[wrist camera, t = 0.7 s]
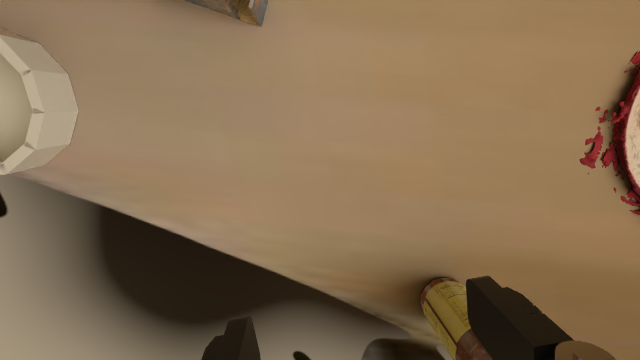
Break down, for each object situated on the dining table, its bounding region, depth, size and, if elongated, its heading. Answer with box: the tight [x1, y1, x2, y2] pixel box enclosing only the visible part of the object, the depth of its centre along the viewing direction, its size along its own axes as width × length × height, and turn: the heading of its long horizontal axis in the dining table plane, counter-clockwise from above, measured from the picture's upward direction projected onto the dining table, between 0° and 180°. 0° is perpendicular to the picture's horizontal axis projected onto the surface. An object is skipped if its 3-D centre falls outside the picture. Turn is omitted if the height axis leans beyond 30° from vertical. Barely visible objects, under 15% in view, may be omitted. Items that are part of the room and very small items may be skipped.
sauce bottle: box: [420, 278, 493, 360], centre depth 34 cm, size 7×6×20 cm
